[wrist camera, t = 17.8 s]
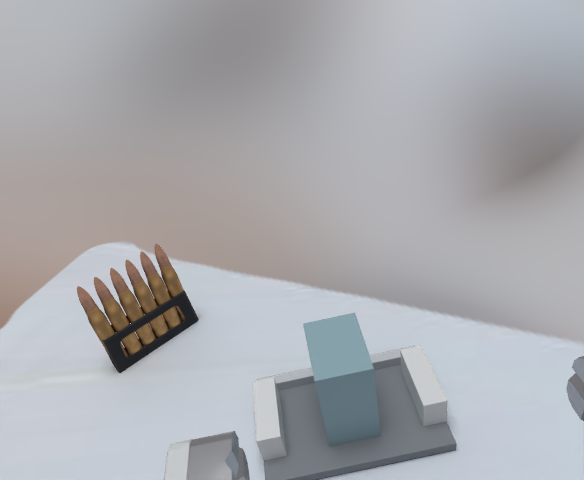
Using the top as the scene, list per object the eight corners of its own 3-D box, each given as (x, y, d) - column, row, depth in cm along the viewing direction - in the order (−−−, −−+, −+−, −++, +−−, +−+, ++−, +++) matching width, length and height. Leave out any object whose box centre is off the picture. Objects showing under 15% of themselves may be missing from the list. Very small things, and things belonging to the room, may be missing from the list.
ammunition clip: (191, 313, 57) (159, 237, 50) (199, 320, 56) (167, 242, 49) (113, 364, 52) (66, 287, 45) (119, 373, 51) (71, 295, 44)
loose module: (329, 446, 38) (314, 381, 33) (317, 388, 43) (303, 323, 38) (380, 435, 38) (373, 368, 33) (363, 378, 43) (354, 312, 38)
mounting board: (268, 489, 37) (257, 465, 35) (260, 389, 46) (251, 364, 43) (455, 449, 37) (457, 422, 35) (414, 357, 46) (413, 330, 43)
